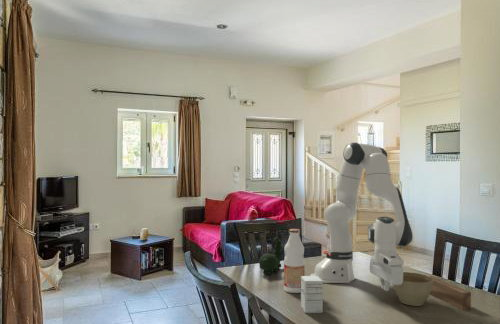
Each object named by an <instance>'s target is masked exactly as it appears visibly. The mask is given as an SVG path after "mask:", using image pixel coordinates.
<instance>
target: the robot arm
mask: <svg viewBox="0 0 500 324" xmlns="http://www.w3.org/2000/svg"><path fill="white" fill-rule="evenodd" d="M342 152H343V153H342V154H343V155H342V156H343V161H342V164H341V166H340V169H339V173H338V176H337V181H336V185H335V191H336V192H335V193H336V197H335V198H336V199H335V202H333V203H331V204H329V205H328V206H327V207H326V208H325V210H324V218H325V220H326V222H327V227H328V231H329V249H328V250H326V249H323V250H322V253H323V254H324V255H326V256H325V257H324V258H323V259H322V260H321V261H319V262H318V263H317V264H316V265H315V267H314V273H311V274H310V275H309V276H318V277H319V278H320V279H321V280H322V281H323V284H325V283H326V284H350V283H352V281H354V280H355V279H356V277H355V273H354V268H353V267H354V266H353V260H354V259H353V257H354V255H353V248H352V247H353V245H352V243H353V241H352V240H353V237H352V233H351V230H350V224H349V222H351V221H352V220H353V219H354V218H355V217H356V215H357V200H358V199H357V198H358V194H359V193H358V192H359V188H360V184H361V180H362V176H363V171H364V169H365V171H364V172H365V185H366V188H367V190H368V191H369V192H370V193H371V194H372V195H374V196H375V197H378V198H381V199H384V200H386V201H388V202H389V203H390V204H392V206H393V210H394V214H395V218H396V220H395V219H394V218H392V217H389V216H378V217H377V218H376V219H375V222H372V223H371V224H369V225H368V226H367V240H368V241H370V243H372V244H374V250H373V251H374V252H372V254H371V257H370V261H369V272H370V274H372V275H374V276H376V277H378V278H379V282H380V285H381V288H380V289H382V290H383V291H385V292H389V290H390V286H391V285H392V286H393V285H401V284H402V283H403V272H404V268H403V266H404V259H402V258H401V256H400V255H399V253H397V252H398V251H397V246H398V247H408V246H409V245H410V244H411V242H413V237H414V236H413V231H412V227H411V224H410V222H409V220H408V219H409V218H408V215H407V211H406V206H405V203H404V200H403V196H402V193H401V190H400V189H399V188H398V187H397V186H396V185H394V182H393V181H392V178H391V177H392V176H391V168H390V163H389V160H388V153H387V150H385V148H382V147H380V146H375V145H372V144H369V143H358V142H350V143H347V144H346V145H345V147H344V149H343V151H342Z"/></svg>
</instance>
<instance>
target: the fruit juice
mask: <svg viewBox="0 0 500 324" xmlns="http://www.w3.org/2000/svg"><path fill="white" fill-rule="evenodd" d="M288 231H289V236H288V240H287V242H286V244H284V254H285V256H284V259H283V289H284V291H285V292H287V293H291V294H299V293H300V294H301V276H305V262H306V261H305V257H304V254H305V246H304V244H303V242H302V239H301V237H300V234H301V230H300V229H299V228H291V229H289V230H288Z"/></svg>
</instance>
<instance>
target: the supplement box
mask: <svg viewBox="0 0 500 324" xmlns="http://www.w3.org/2000/svg"><path fill="white" fill-rule="evenodd" d="M323 285H324V283H323V281H322V280H321V279H320V278H319V277H318V276H310V275H304V276H301V293H300V307H301V309H302V310H303V312H304V314H313V313H314V314H320V313H321V314H322V313H323V309H324V308H323V307H324V306H323V303H324V302H323V300H324V299H323V298H324V292H323V291H324V290H323V289H324V286H323Z"/></svg>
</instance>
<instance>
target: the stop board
mask: <svg viewBox="0 0 500 324" xmlns="http://www.w3.org/2000/svg"><path fill="white" fill-rule="evenodd" d="M428 276H429V277H431V278H432V279H433V283H432V290H431V293H430V295H429V296H431V297H433V298H436V299H438V300H440V301H442V302H444V303H446V304H448V305H450V306H452V307H454V308H457V309H459V310H461V311H470V310H471V309H472V308H471V307H472V304H471V303H472V292H471V291H468V290H467V289H465V288H461V287H459V286H457V285H454V284H452V283H450V282H447V281H445V280H442V279H440V278H438V277H435V276H433V275H428Z"/></svg>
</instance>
